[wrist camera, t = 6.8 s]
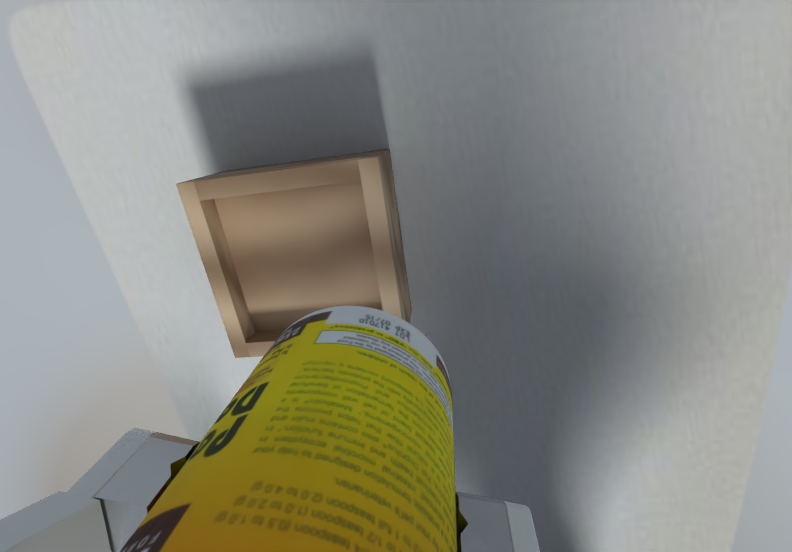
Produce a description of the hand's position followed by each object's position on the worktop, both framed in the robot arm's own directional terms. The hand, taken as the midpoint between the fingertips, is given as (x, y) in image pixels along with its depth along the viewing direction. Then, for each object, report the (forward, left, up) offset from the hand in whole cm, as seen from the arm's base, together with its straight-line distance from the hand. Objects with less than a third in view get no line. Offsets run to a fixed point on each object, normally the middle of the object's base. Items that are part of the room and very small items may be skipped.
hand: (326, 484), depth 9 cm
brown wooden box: (-3, +7, -23) cm, 24 cm away
